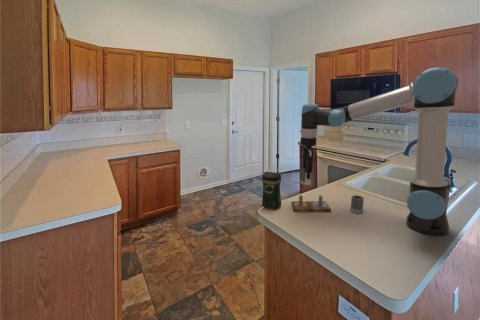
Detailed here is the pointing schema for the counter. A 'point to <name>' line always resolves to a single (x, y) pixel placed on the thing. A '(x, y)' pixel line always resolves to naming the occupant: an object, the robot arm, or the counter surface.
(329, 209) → the pin board
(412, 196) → the robot arm
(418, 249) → the counter surface
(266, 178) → the coffee jar
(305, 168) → the sleeve ochre
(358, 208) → the grey octagonal sleeve
